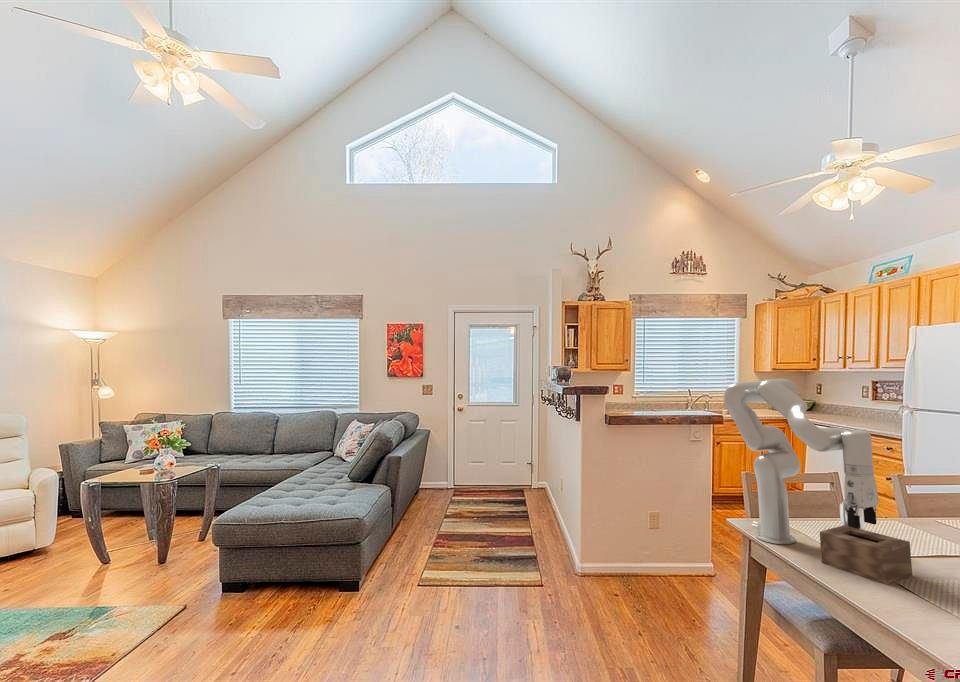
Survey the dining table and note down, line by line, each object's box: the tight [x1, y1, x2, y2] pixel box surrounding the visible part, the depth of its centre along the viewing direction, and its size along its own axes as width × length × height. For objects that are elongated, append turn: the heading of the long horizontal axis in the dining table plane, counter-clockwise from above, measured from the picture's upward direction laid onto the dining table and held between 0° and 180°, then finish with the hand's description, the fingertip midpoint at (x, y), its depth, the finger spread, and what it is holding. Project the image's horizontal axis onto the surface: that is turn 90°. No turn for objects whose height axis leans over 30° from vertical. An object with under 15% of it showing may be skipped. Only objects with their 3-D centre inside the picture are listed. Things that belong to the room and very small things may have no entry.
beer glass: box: [839, 501, 866, 530], centre depth 170 cm, size 7×7×15 cm
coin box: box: [819, 525, 913, 585], centre depth 152 cm, size 18×14×10 cm
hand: (862, 525), depth 152 cm, fingers open, 8 cm apart
